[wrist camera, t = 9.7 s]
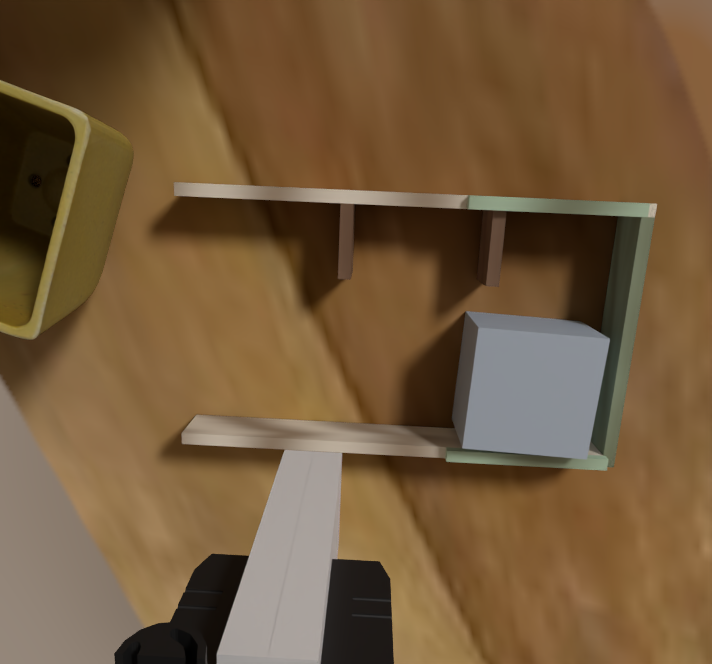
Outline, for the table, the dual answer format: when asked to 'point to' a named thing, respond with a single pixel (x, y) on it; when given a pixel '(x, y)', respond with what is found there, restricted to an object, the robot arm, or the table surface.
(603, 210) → the wooden wall shelf
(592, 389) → the slate block
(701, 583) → the table surface
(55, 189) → the flower pot
